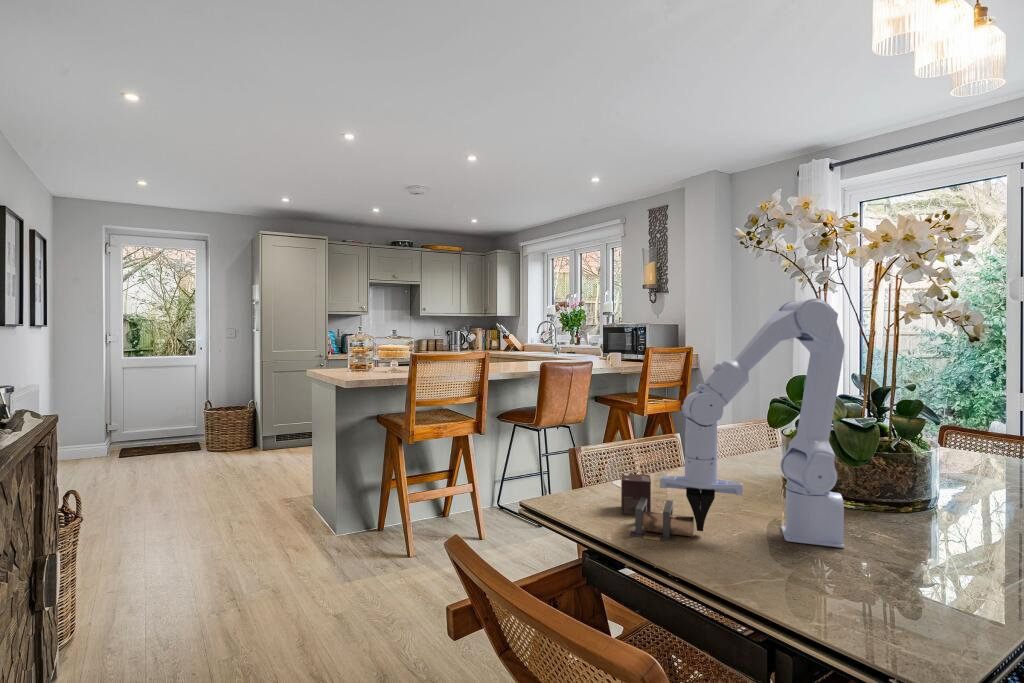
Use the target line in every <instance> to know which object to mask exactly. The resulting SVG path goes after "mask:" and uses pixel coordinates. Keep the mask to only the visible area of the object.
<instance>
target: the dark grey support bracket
mask: <svg viewBox="0 0 1024 683" xmlns="http://www.w3.org/2000/svg"><path fill="white" fill-rule="evenodd" d="M662 513H663V533H662V534H661V533H658V534H657V536H656V537H657V538H660V541H661V540H662V541H670V542H675V540H676V535H675V536H674V535H671V534H670V514H673V515H674V500H670V499H669V500H668V499H666V500H665V504H664V507H663V510H662Z"/></svg>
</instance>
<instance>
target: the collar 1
mask: <svg viewBox="0 0 1024 683" xmlns="http://www.w3.org/2000/svg"><path fill="white" fill-rule="evenodd" d="M645 511H646V512H647V498H640V500H639V502H638V504H637V507H636V509H635V515H634V516H635V518H634V521H635V522H634V524H635V526H634V529H635V530H631V531H630V532H629V536H630V537H637V538H643V536H648V533H647V532H644V530H643V517H644V512H645Z"/></svg>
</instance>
